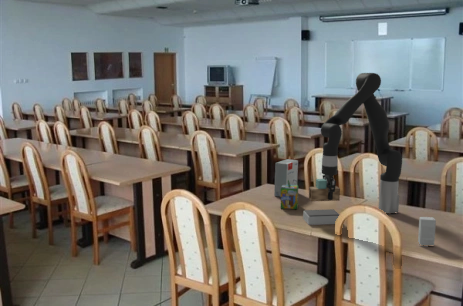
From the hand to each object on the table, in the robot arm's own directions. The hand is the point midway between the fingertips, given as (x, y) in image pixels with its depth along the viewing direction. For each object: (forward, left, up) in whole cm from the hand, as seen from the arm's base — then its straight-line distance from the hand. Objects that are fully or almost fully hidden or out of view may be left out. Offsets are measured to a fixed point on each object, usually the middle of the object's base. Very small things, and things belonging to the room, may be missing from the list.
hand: (328, 198), depth 248 cm
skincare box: (-32, +37, -12) cm, 50 cm away
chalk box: (+13, -26, -12) cm, 31 cm away
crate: (+4, 0, +5) cm, 7 cm away
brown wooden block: (+2, 0, -1) cm, 2 cm away
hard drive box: (+9, -52, -12) cm, 54 cm away
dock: (+3, 0, -12) cm, 12 cm away
